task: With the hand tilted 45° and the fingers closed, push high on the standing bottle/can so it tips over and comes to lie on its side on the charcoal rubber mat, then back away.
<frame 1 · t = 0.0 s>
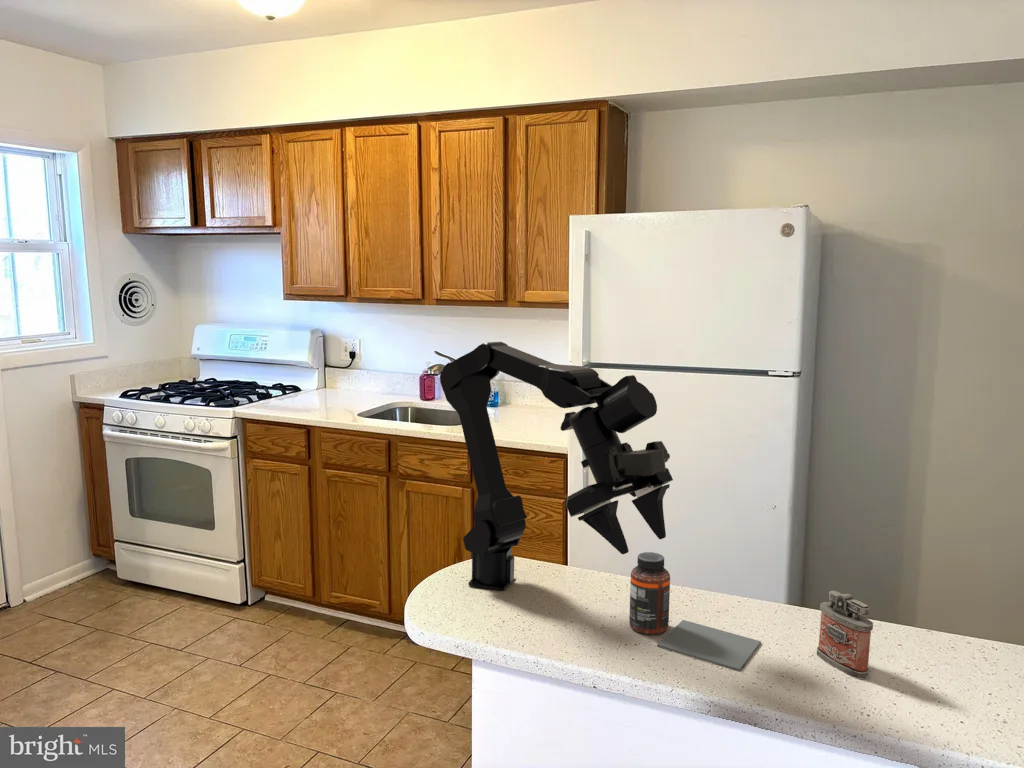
hand: (644, 545, 108), 15 cm above the counter, tool tilted 35°, fingers open, 9 cm apart
supplement bottle: (648, 628, 115), on the counter
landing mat: (709, 644, 110), on the counter
lighter: (841, 665, 105), on the counter
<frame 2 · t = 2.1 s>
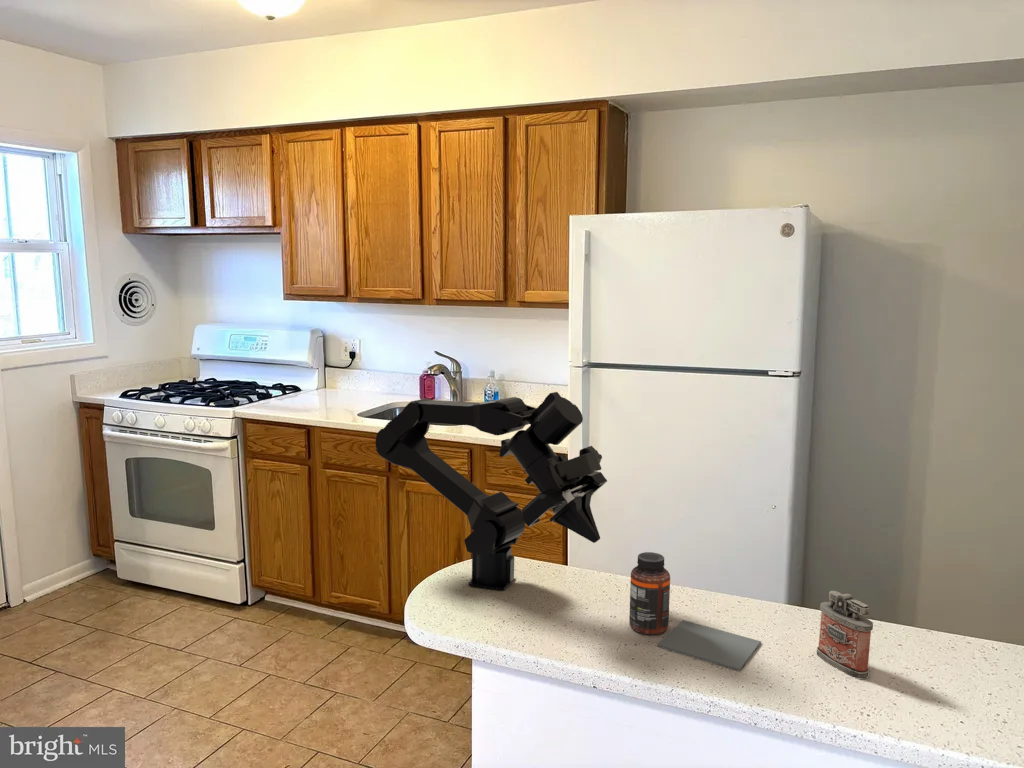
hand: (597, 540, 119), 12 cm above the counter, tool tilted 45°, fingers closed
nothing on the counter moved.
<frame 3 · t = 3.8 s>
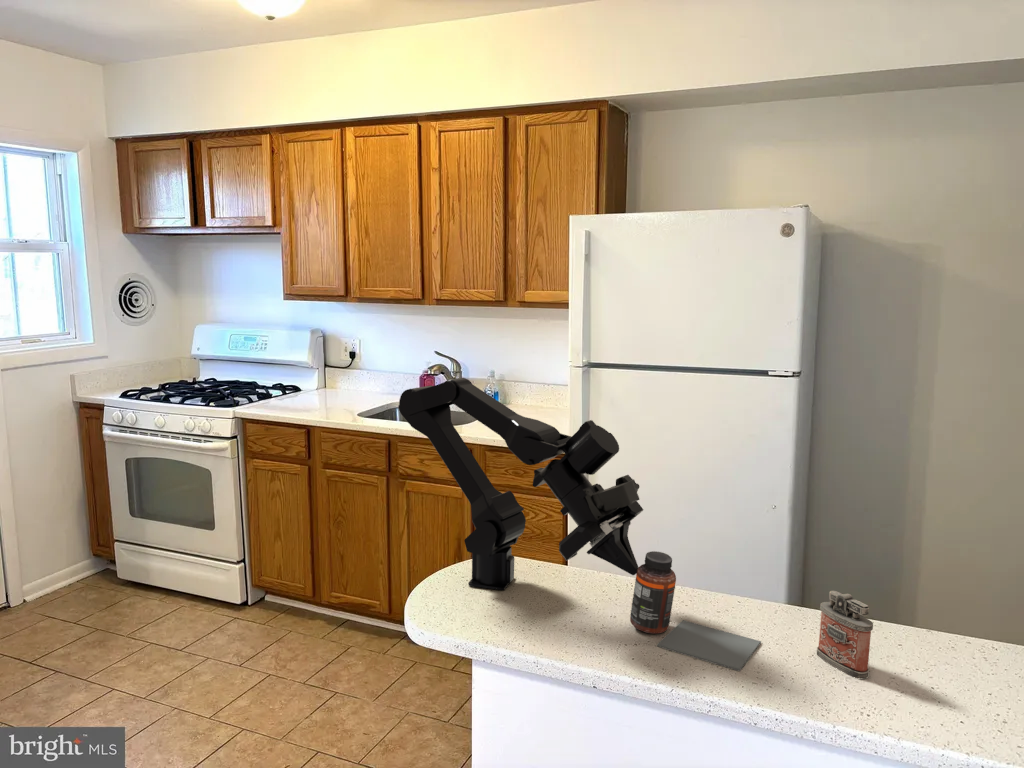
hand: (636, 573, 116), 8 cm above the counter, tool tilted 45°, fingers closed
supplement bottle: (648, 626, 115), on the counter, touching gripper
everything else where it was.
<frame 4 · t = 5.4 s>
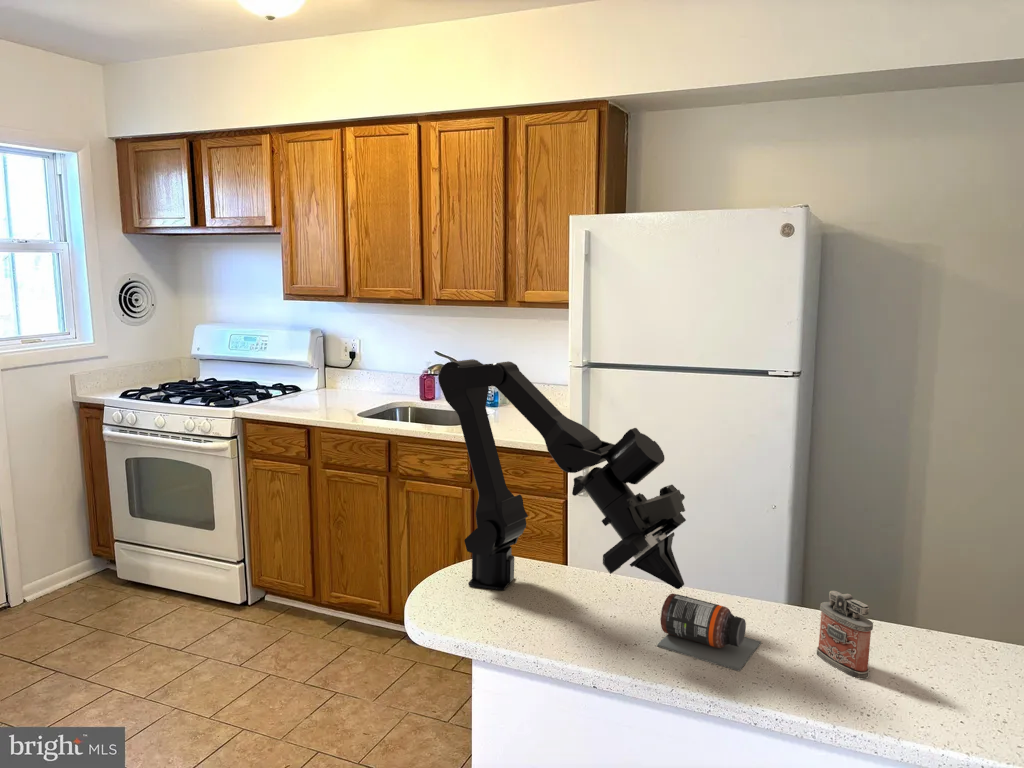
hand: (681, 587, 112), 8 cm above the counter, tool tilted 45°, fingers closed
supplement bottle: (665, 611, 113), point 3 cm above the counter, touching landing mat
everything else where it was.
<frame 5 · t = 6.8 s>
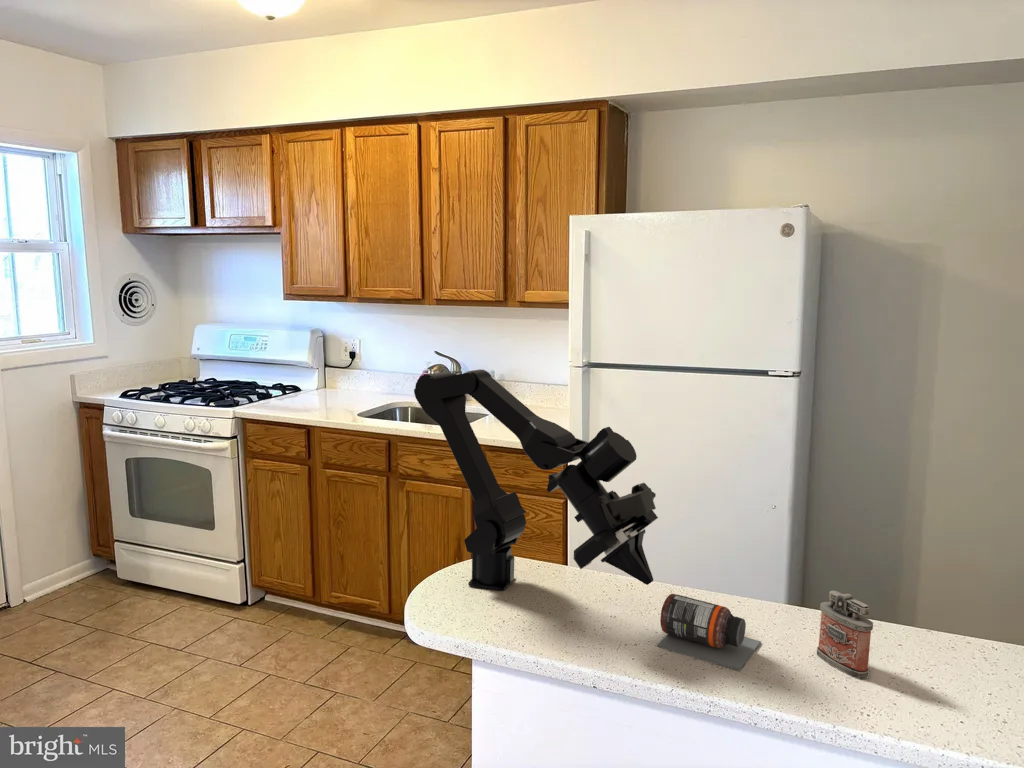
hand: (650, 582, 114), 7 cm above the counter, tool tilted 45°, fingers closed
nothing on the counter moved.
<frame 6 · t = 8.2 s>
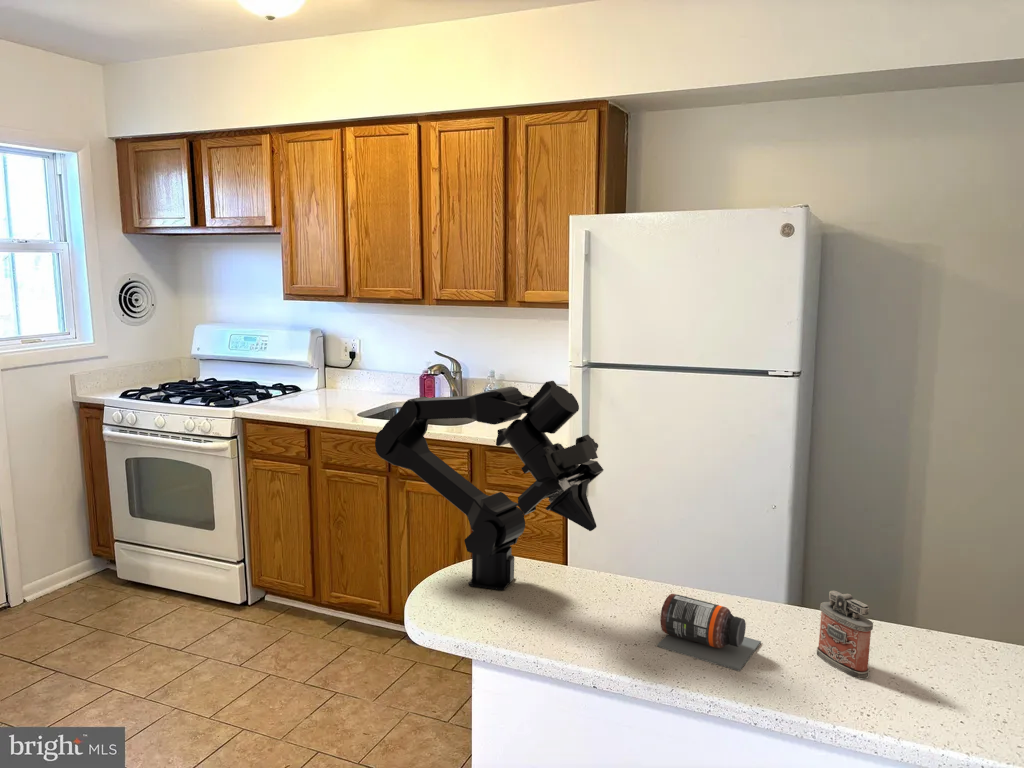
hand: (593, 529, 119), 14 cm above the counter, tool tilted 45°, fingers closed
nothing on the counter moved.
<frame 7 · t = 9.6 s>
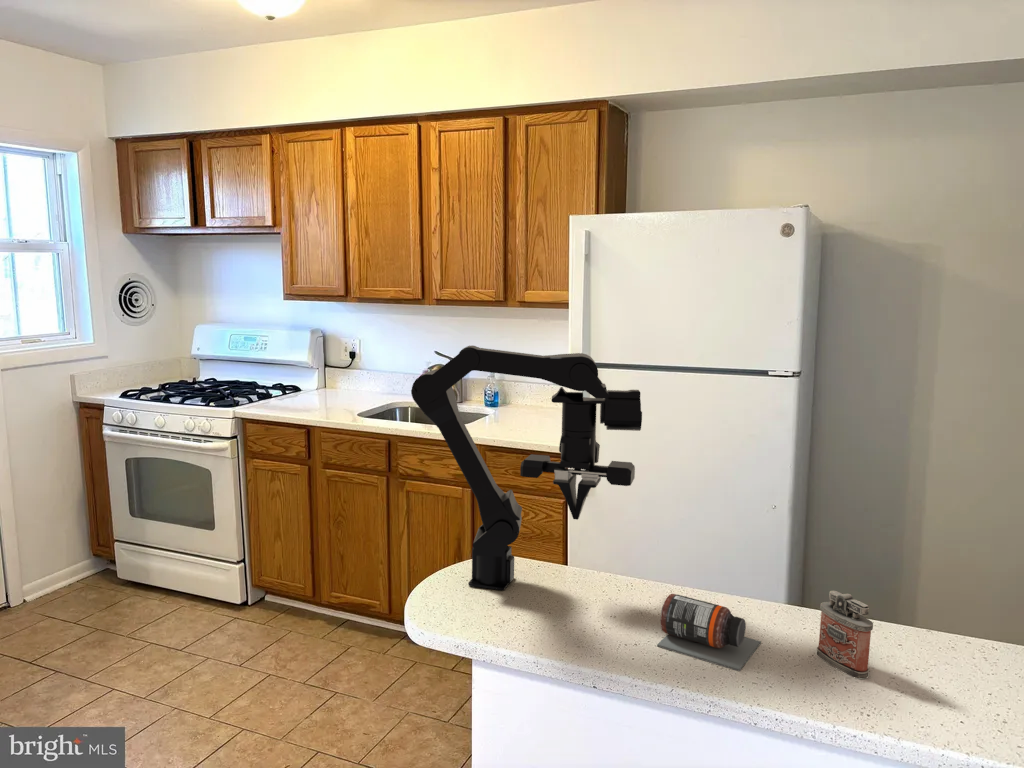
hand: (576, 518, 129), 12 cm above the counter, tool pointing down, fingers closed
nothing on the counter moved.
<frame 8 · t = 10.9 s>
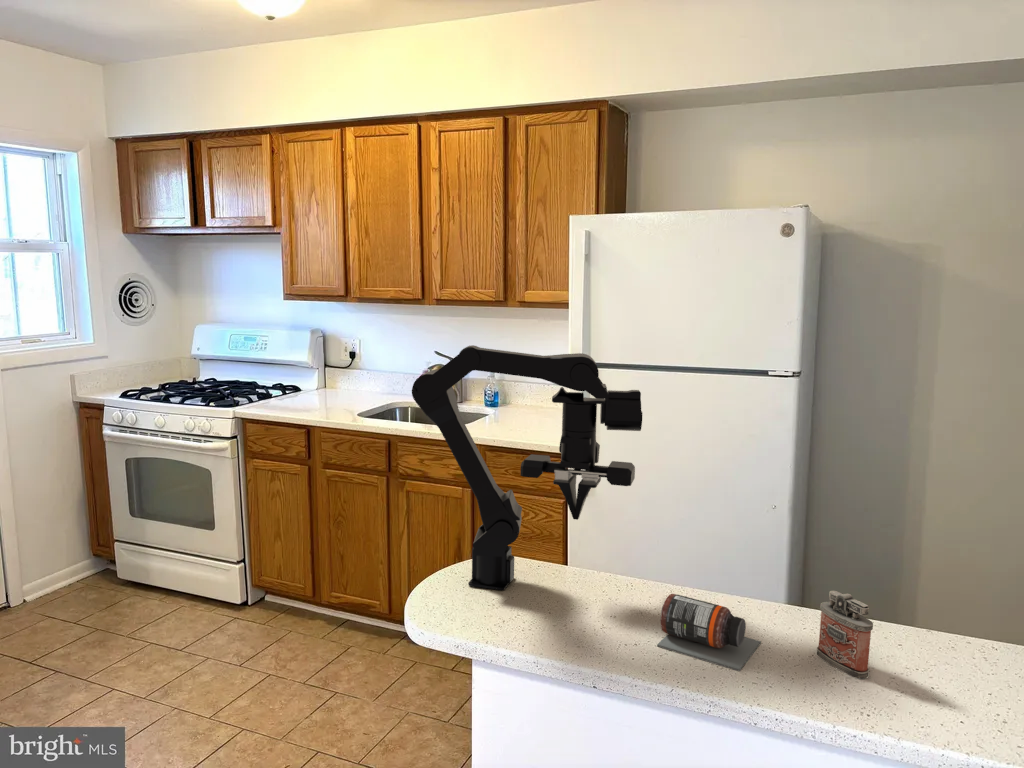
hand: (576, 518, 129), 12 cm above the counter, tool pointing down, fingers closed
nothing on the counter moved.
at the end: supplement bottle tilted 91°; supplement bottle touching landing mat; supplement bottle 6.9 cm from the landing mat (horizontally) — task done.
